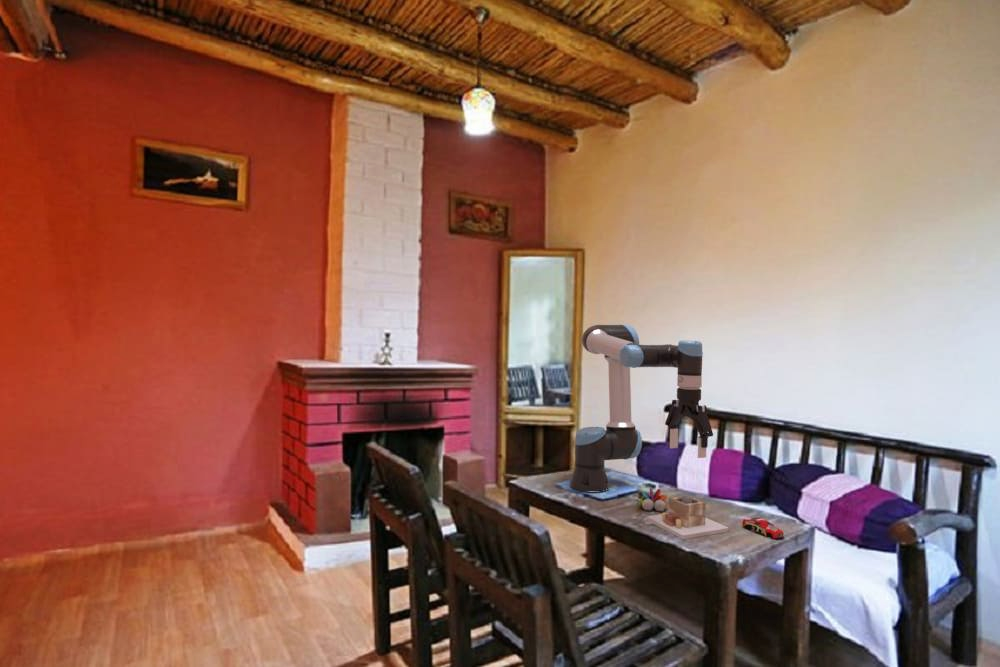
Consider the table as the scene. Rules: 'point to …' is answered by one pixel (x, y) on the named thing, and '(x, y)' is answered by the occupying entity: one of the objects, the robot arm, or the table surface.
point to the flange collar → (686, 512)
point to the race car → (762, 527)
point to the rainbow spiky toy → (653, 501)
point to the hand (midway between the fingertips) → (687, 452)
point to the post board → (688, 532)
